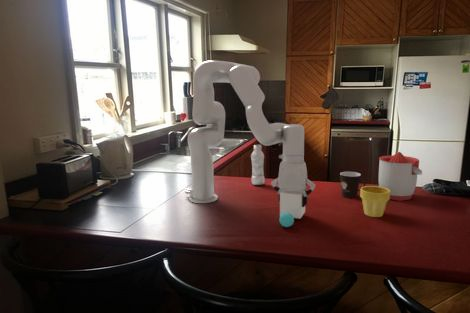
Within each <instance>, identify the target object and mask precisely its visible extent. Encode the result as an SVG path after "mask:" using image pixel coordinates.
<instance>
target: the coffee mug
mask: <svg viewBox="0 0 470 313" xmlns="http://www.w3.org/2000/svg"><path fill="white" fill-rule="evenodd" d="M339 175H340V176H339V177H340V188H341V196H342V197H343V198H346V199H356V198H358V194H359V193H358V192H360V190H361V188H360V182H362V183H363V186H362V187H364V186H366V181H365V180H363V179H361V176H362V174H361V173H359V172H356V171H343V172H340V173H339ZM359 188H360V189H359Z"/></svg>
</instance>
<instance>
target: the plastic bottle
mask: <svg viewBox="0 0 470 313" xmlns="http://www.w3.org/2000/svg"><path fill="white" fill-rule="evenodd" d="M262 148H263V147H262V144H254V145H253V151H252V153H251V154H250V159H251V170H252V171H251V177H250V178H251V184H253V185H254V186H262V185H264V184H265V180H266V179H265V174H264V162H265V160H264V159H265V154H264V152H263V150H262Z"/></svg>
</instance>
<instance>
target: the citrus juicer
mask: <svg viewBox="0 0 470 313" xmlns="http://www.w3.org/2000/svg"><path fill="white" fill-rule="evenodd" d="M378 160H379V165H378V187H383V188H387V189H389V190H390V198H389V200H395V201H399V202H403V201H407V200H411V199H412V197H413V195H414V193H415V190H416V186H417V181H418V175H419V176H421V175H423V170H422V169H420V168H419V167H420V159H418V158H416V157H413V156H405V155H404V154H403V153H402V152H400V151H397V152H396V153H395V154H393V155H382V156H379V157H378Z"/></svg>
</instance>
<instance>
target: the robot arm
mask: <svg viewBox="0 0 470 313" xmlns="http://www.w3.org/2000/svg"><path fill="white" fill-rule="evenodd" d="M192 80H193V98H192V99H193V100H192V112H191V113H192V120H193V122H194V123H195V124H196V125H199V126H200V127H196V128H193V129H192V130H191V131H190V132H189V133H188V134H187V146H188V149H189V156H190V157H189V158H190V168H191V170H190V171H191V188H190V187H189V188H188V187H186V188H185V191H184V192H185V194H187V195H189V197H188V200H189V202H191V203H193V204H194V203H195V204H208V203H213V202H216V201H217V200H218V197H219V195H218V194H216V193H215V183H214V182H215V178H214V159H213V155H212V152H211V150H210V149H212V148H216V147H219V146H220V145H221V144H222V143H223V141H224V138H225V136H224V135H225V126H226V125H225V124H226V110H225V107H224V106H223V104H222V103H221V102H219V101H216V100H215V88H214V86H213V84H214V83H227V84H230V85H231V86H232V88H233V89H234V92H235V93H236V95H237V96H238V98H239V99H240V101H241V103H242V104H243V106H244V107H245V117H246V121H247V125H248V128H249V130H250V131H251V133H252V134H253V136H254V138H255V139H256V140H257V142H259V143H260V145H263V146H267V147H268V146H272V145H277V144H281V143H282V154H279V155H278V159H281V162H280V164H279V169H278V170H279V171H278V177H277V178H275V179H274V180H272V181H271V182H270V184H271V186H272V188H273V189H274V191H275V192H276V193H277V194H278V202H279V203H280V193H281V192H282V191H283V190H295V191H301V192H302V194H303V197H302V207H305V208H306V205H308V196H309V195H310V194H311V193H312V192H313V191H314V190H315V189H316V187H317V185H316V184H315V183H314V182H312V181H311V180H310V179H308V170H307V165H306V162H305V159H304V158H305V157H304V156H305V127H304V126H303V125H302V124H295V123H292V124H288V123H283V122H274V123H269V122H268V120H267V118H266V116H265V115H264V112H263V107H262V106H263V103H264V101H265V99H266V96H265V94H264V92H263V91H262V89H261V88H260V85H258V84H259V83H260V80H261V74H260V72H259V70H258V69H257V68H256V67H255V66H253V65H247V64H242V63H237V62H233V61H232V62H231V61H225V60H215V59H214V60H206V61H203V62H201V63H199V64H198V65H197V66H196V68H195V70H194V72H193V79H192ZM201 125H203V126H202V127H201ZM205 125H206V126H205ZM277 183H278V184H277ZM308 186H309V187H310V188H309V189H307V188H308Z"/></svg>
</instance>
